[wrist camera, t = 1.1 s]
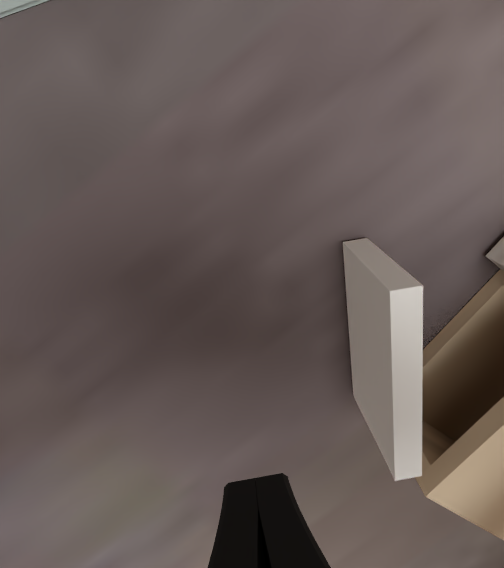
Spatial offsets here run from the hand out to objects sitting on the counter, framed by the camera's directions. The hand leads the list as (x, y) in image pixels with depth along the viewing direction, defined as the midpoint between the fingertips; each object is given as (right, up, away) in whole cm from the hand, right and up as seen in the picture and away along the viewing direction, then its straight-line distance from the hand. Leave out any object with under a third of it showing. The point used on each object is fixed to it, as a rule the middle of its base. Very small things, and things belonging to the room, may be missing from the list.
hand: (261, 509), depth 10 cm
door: (+4, +3, +9) cm, 11 cm away
